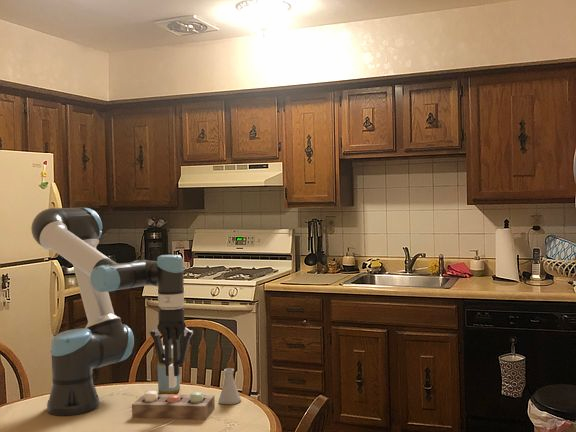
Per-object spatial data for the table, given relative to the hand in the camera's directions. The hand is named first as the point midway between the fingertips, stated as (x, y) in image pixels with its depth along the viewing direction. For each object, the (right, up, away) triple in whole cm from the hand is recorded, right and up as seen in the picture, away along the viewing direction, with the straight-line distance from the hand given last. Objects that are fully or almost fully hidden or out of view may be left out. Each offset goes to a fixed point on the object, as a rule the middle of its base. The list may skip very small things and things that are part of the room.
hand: (172, 386), depth 183 cm
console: (0, -8, 0) cm, 8 cm away
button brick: (0, -6, 0) cm, 6 cm away
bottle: (-5, -8, +21) cm, 23 cm away
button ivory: (-7, -6, +1) cm, 9 cm away
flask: (+16, -8, +10) cm, 20 cm away
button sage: (+7, -5, -1) cm, 9 cm away
